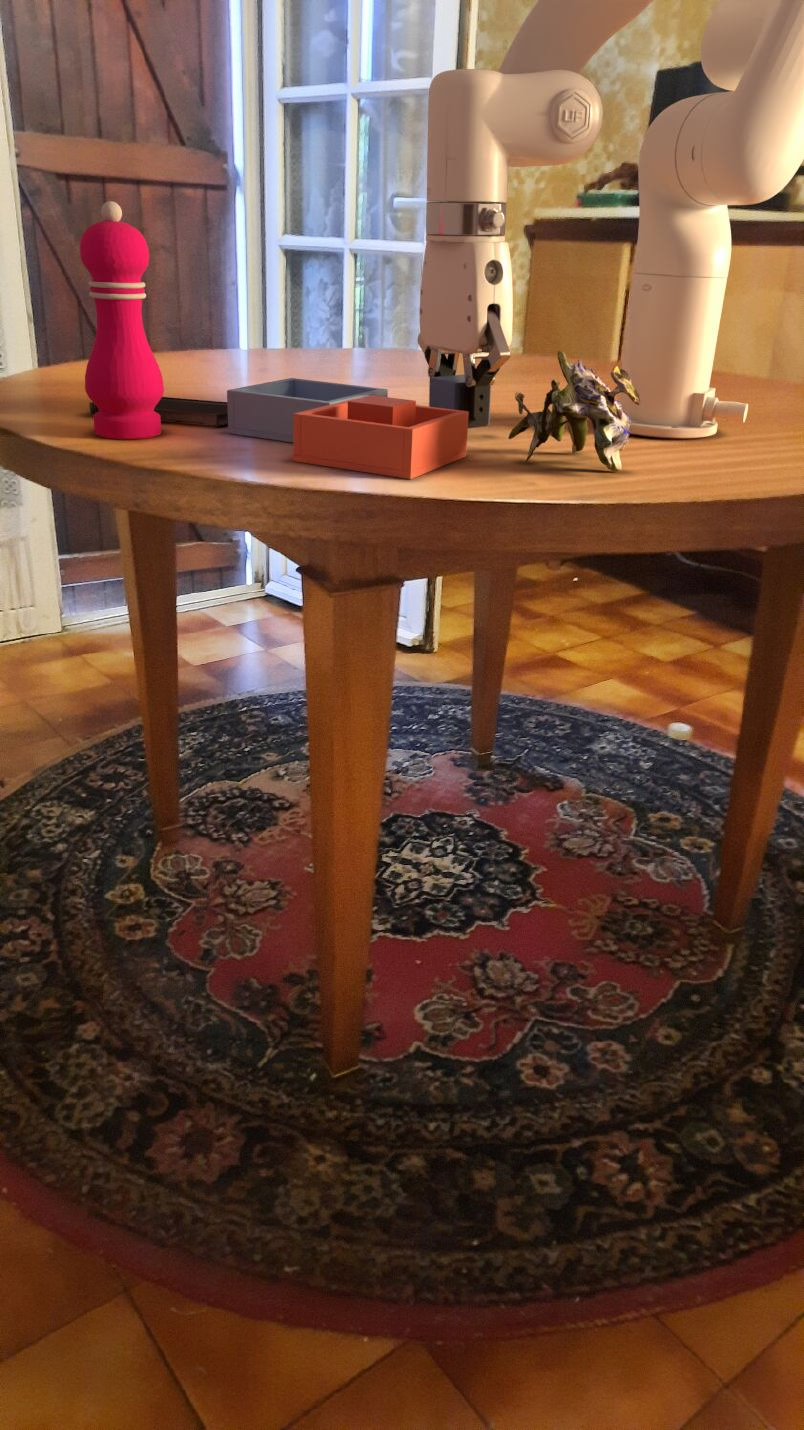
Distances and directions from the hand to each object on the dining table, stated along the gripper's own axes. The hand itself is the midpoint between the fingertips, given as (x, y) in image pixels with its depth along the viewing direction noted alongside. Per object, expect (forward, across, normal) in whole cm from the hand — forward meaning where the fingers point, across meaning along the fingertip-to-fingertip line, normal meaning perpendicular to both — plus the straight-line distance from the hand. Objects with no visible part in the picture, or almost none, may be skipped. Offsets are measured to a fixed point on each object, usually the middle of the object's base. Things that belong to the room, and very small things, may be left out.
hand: (458, 420), depth 104 cm
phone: (+1, +19, +24) cm, 31 cm away
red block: (0, -8, +14) cm, 16 cm away
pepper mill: (+1, +11, +31) cm, 33 cm away
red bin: (+1, -8, +14) cm, 16 cm away
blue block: (0, 0, 0) cm, 0 cm away
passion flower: (+2, -16, -1) cm, 16 cm away
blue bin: (+1, +6, +14) cm, 15 cm away
